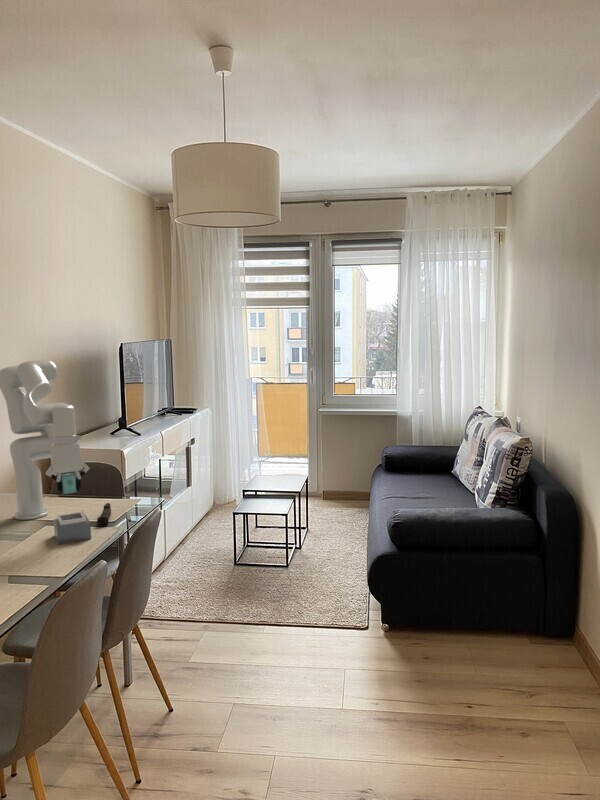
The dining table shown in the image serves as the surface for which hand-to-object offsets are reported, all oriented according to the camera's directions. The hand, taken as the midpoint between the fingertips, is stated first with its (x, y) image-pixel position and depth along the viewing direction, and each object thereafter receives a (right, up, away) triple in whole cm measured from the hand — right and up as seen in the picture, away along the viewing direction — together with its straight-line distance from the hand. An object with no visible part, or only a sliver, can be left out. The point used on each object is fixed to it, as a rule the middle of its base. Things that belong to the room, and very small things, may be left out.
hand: (69, 490), depth 228 cm
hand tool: (+6, -15, +23) cm, 28 cm away
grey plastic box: (+1, -17, +2) cm, 17 cm away
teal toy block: (0, 0, 0) cm, 0 cm away
